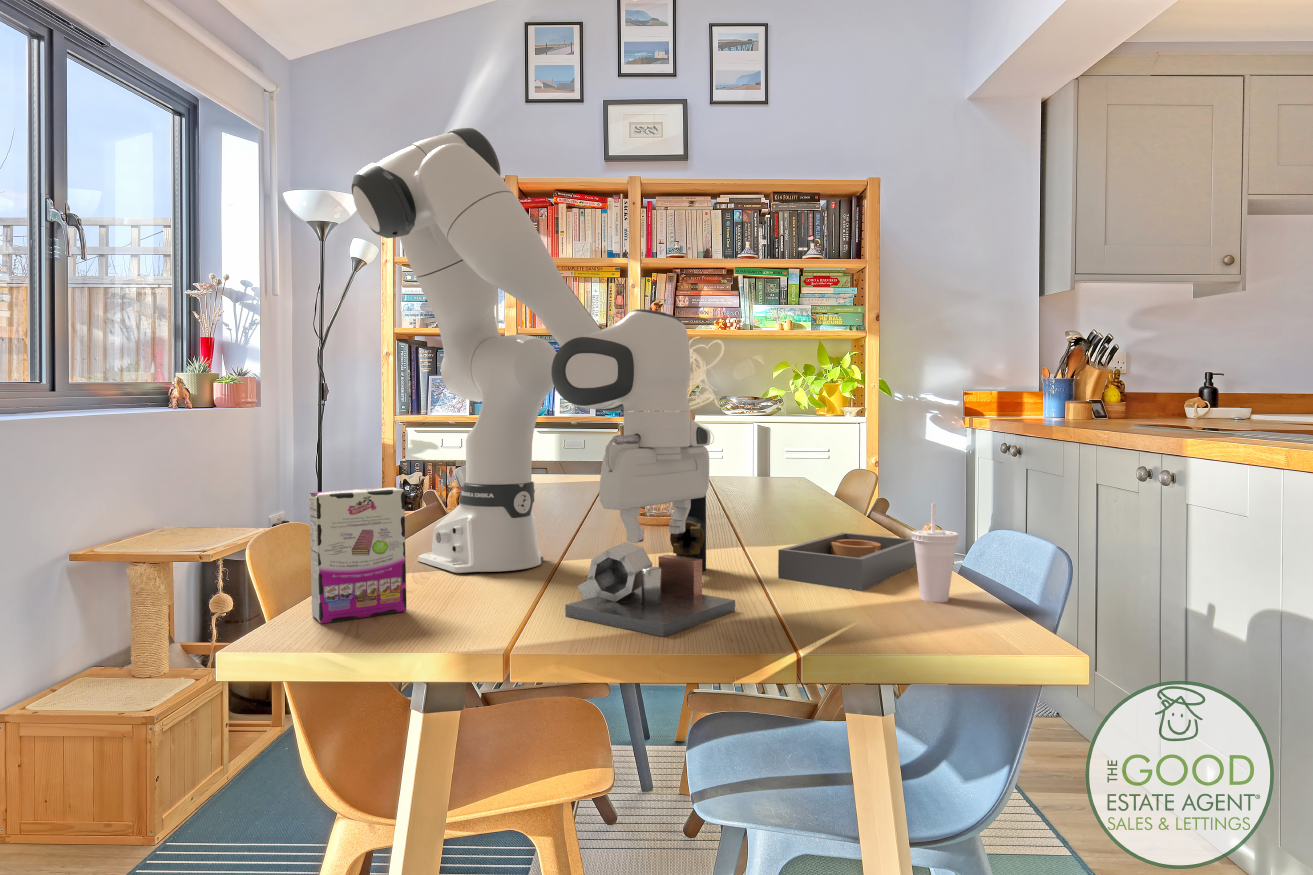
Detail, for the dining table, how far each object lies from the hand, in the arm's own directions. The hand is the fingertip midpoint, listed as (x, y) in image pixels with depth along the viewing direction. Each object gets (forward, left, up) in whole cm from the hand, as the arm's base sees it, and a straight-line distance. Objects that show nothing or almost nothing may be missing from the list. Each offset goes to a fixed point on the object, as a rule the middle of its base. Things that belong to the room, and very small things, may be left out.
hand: (656, 537), depth 107 cm
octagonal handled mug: (-5, -4, -5) cm, 8 cm away
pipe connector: (-10, +22, -10) cm, 26 cm away
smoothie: (+27, +30, -10) cm, 42 cm away
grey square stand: (0, -1, -10) cm, 10 cm away
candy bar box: (-30, -25, -10) cm, 40 cm away
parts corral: (+10, +40, -10) cm, 42 cm away
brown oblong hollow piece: (+3, +46, -13) cm, 48 cm away
